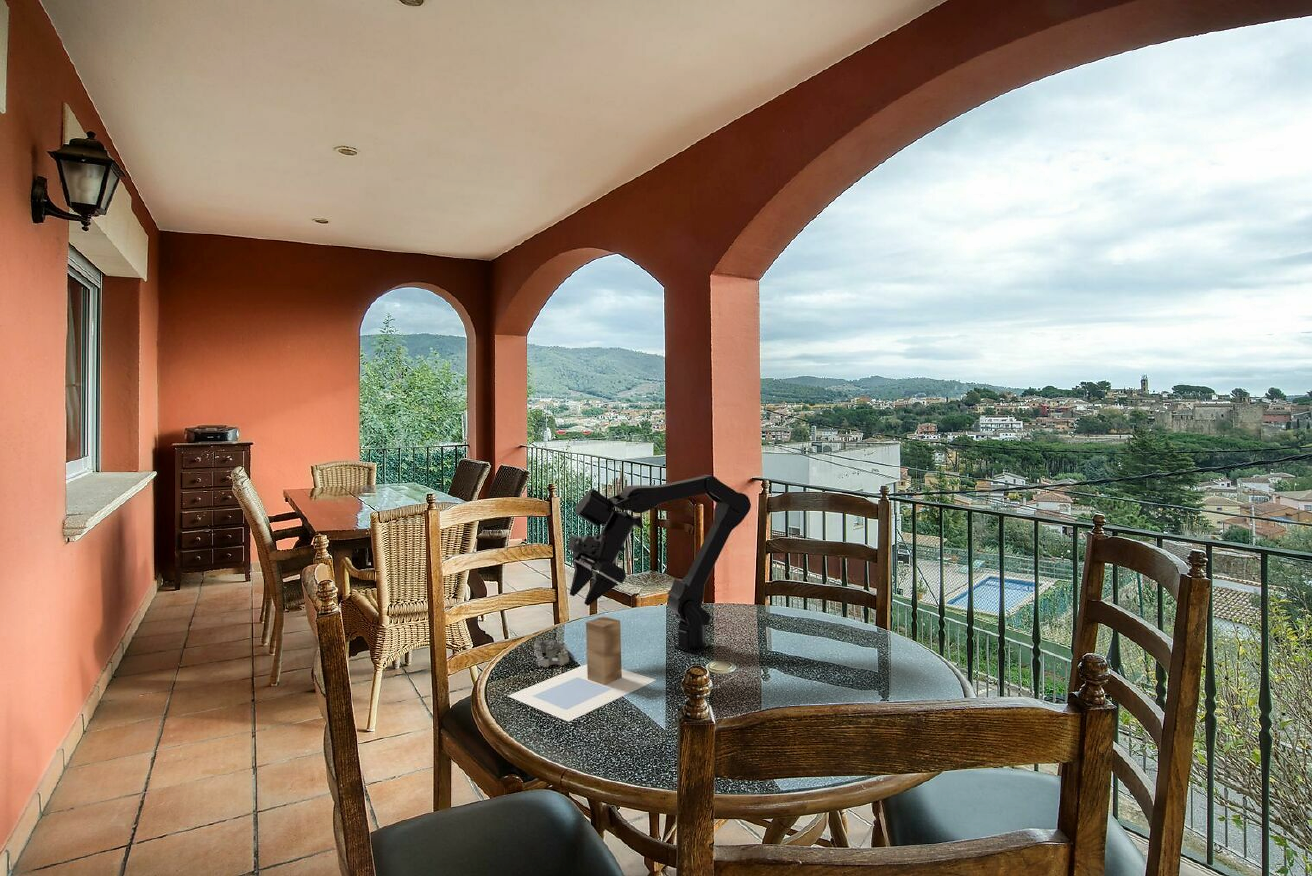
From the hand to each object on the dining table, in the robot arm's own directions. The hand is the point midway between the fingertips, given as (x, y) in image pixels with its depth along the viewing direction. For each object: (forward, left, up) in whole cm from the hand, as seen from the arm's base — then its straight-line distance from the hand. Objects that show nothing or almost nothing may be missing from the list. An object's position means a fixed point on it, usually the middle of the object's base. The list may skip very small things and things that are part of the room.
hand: (578, 600), depth 150 cm
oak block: (+2, +10, -14) cm, 17 cm away
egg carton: (+1, -8, -15) cm, 18 cm away
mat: (+8, +10, -15) cm, 20 cm away
